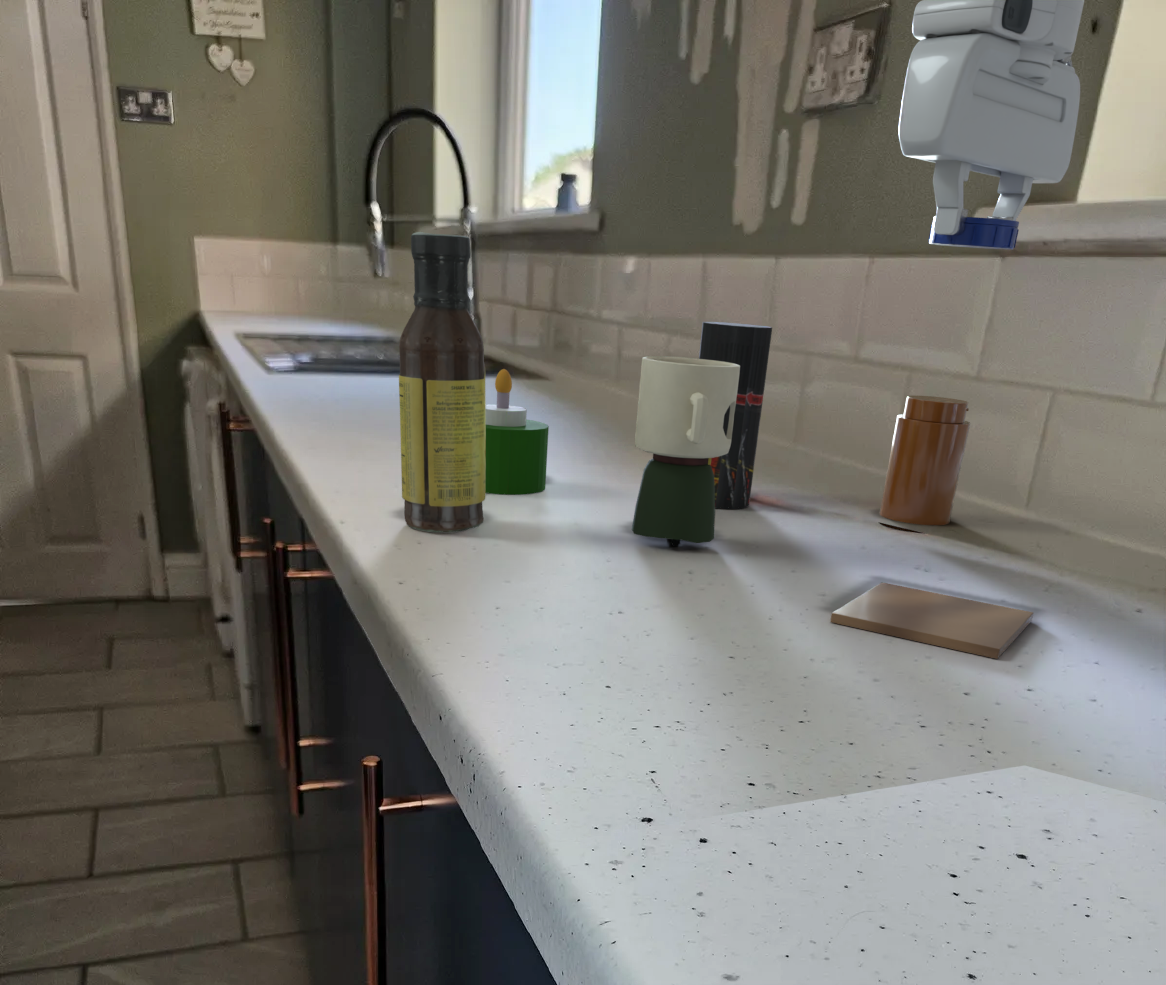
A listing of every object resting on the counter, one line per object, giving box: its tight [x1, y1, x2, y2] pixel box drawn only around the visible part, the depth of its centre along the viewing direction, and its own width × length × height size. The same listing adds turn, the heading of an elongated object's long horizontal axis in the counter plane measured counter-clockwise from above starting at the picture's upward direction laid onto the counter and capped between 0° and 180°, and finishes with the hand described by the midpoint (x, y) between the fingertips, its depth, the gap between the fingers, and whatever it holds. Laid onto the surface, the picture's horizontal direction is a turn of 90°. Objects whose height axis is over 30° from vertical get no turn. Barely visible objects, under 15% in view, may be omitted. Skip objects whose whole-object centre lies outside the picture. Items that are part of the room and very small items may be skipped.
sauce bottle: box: [398, 231, 487, 533], centre depth 79 cm, size 6×6×20 cm
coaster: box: [830, 581, 1034, 660], centre depth 68 cm, size 10×10×1 cm
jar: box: [878, 395, 972, 535], centre depth 94 cm, size 6×6×11 cm
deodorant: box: [698, 321, 773, 510], centre depth 96 cm, size 6×6×15 cm
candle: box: [485, 368, 550, 496], centre depth 97 cm, size 8×8×10 cm
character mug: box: [631, 355, 740, 547], centre depth 81 cm, size 11×7×13 cm, turn 6°
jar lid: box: [927, 215, 1020, 251], centre depth 85 cm, size 6×6×2 cm
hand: (972, 238), depth 85 cm, fingers closed on jar lid, 6 cm apart
